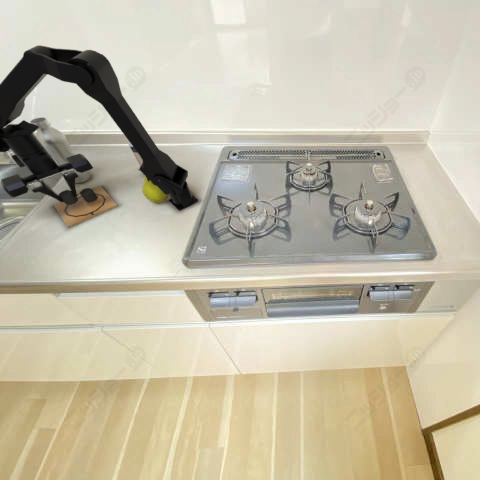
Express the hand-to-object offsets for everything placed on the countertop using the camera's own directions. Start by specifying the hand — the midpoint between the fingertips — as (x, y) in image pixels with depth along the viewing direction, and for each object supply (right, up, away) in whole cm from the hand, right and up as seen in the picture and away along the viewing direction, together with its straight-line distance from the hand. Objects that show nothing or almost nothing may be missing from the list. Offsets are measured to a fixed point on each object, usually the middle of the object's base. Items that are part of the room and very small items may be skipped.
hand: (69, 198), depth 81 cm
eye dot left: (0, -1, +1) cm, 1 cm away
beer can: (+15, +11, +15) cm, 24 cm away
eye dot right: (+3, +1, +4) cm, 5 cm away
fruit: (+23, 0, +6) cm, 24 cm away
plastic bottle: (-6, +8, +12) cm, 16 cm away
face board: (+3, -2, +3) cm, 4 cm away
